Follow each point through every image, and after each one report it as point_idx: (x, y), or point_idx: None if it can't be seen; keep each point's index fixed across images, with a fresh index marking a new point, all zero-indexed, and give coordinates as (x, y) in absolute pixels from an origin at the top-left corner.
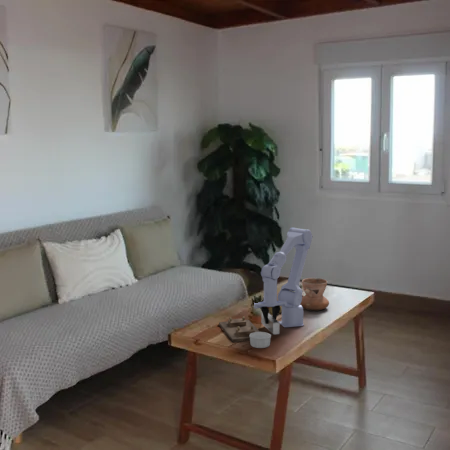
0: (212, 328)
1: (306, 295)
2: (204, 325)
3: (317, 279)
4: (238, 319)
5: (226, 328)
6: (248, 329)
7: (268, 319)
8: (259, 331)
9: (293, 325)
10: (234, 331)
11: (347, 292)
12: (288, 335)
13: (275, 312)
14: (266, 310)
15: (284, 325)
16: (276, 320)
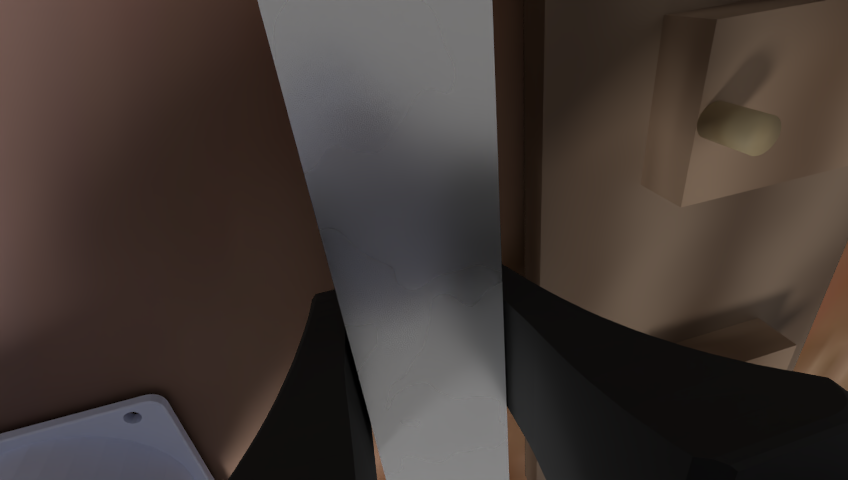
0: (838, 320)
1: None
2: (843, 374)
3: None
4: None
5: (815, 274)
6: (765, 104)
7: (495, 280)
8: (549, 169)
9: (8, 449)
10: (805, 184)
11: None
12: (63, 60)
13: (344, 469)
14: (785, 422)
15: (155, 434)
16: (317, 150)
